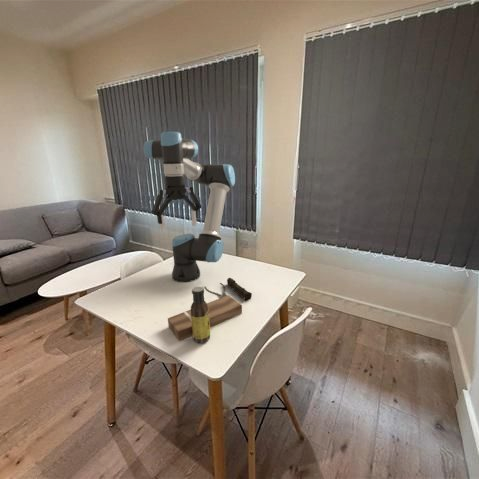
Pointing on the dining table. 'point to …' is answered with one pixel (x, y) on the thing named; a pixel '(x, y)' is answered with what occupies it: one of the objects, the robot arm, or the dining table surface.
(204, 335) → the sauce bottle
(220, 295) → the pliers
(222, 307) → the walnut plank
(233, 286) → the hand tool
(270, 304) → the dining table surface
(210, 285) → the dining table surface
